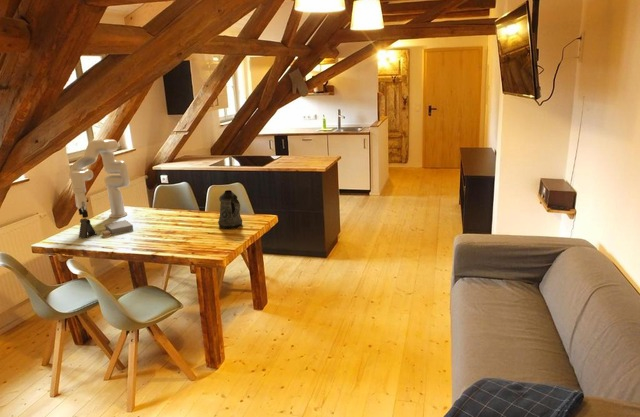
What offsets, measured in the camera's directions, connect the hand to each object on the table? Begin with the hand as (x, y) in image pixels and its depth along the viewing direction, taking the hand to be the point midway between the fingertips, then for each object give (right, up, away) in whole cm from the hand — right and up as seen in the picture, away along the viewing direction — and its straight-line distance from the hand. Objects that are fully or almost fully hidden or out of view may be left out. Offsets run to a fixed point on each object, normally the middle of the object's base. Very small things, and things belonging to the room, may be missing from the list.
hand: (83, 215), depth 307 cm
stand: (+17, -10, +15) cm, 25 cm away
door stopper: (0, -14, +4) cm, 15 cm away
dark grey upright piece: (+95, -7, +17) cm, 96 cm away
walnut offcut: (+13, -14, +4) cm, 19 cm away
